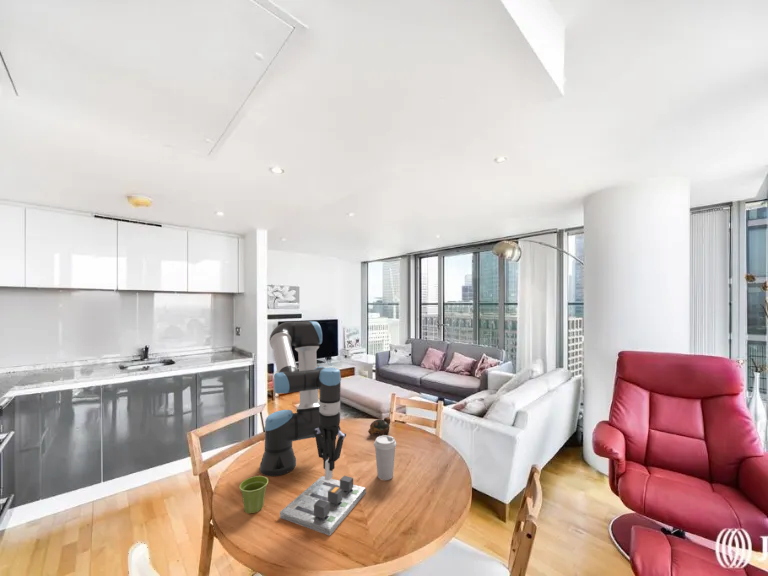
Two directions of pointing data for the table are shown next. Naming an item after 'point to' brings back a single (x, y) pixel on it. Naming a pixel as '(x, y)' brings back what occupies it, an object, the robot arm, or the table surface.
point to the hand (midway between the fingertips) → (328, 478)
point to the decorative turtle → (380, 426)
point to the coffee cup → (385, 456)
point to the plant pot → (253, 493)
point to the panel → (304, 503)
